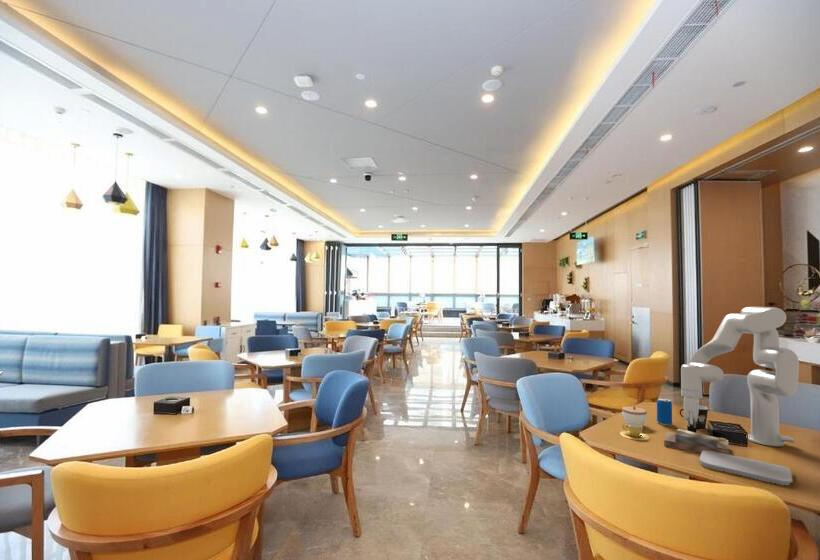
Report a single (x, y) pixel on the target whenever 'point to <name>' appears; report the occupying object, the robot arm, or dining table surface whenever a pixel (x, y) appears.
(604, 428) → the dining table surface
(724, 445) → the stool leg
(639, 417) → the lidded jar
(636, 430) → the cup
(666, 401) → the beverage can
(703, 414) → the coffee mug
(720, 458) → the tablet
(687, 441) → the weathered wood block
